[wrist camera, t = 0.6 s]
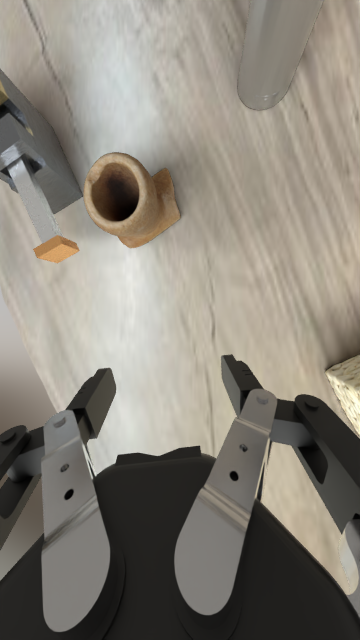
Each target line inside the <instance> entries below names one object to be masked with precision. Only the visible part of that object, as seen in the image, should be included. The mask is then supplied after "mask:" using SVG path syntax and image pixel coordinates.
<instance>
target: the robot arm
mask: <svg viewBox="0 0 360 640" xmlns="http://www.w3.org/2000/svg"><path fill="white" fill-rule="evenodd" d="M323 1H324V0H250V6H249V13H248V19H247V25H246V32H245V38H244V45H243V51H242V57H241V64H240V70H239V77H238V86H237V88H238V94H239V97H240V99H241V100H242V102H243V103H244V104H245V105H246V106H247V107H249V108H251V109H255V110H264V109H268V108H270V107H272V106H274V105H275V104H277V103H278V102H279V101H280V100H281V99H282V98H283V97H284V95H285V94H286V93H287V91H288V88H289V86H290V84H291V81H292V79H293V76H294V74H295V71H296V69H297V66H298V64H299V61H300V59H301V56H302V54H303V51H304V49H305V46H306V44H307V41H308V39H309V36H310V34H311V31H312V29H313V26H314V24H315V21H316V19H317V16H318V14H319V11H320V9H321V6H322V4H323ZM221 368H222V379H223V383H224V385H225V388H226V390H227V393H228V395H229V398H230V400H231V403H232V405H233V408H234V410H235V412H236V415H237V417H238V418H237V417H236V418H235V419H234V421H233V423H232V425H231V428H230V430H229V432H228V434H227V437H226V439H225V441H224V443H223V446H222V448H221V450H220V452H219V455H218V457H217V459H216V458H214V457H212V456H210V455H207V454H203V453H201V450H200V446H193V447H184V448H178V449H176V450H173V451H171V452H168V453H166V454H163V455H161V456H154V455H148V454H143V453H131V454H122V455H118V456H117V460H116V463H115V464H113V465H111V466H109V467H107V468H106V469H104V470H103V471H101V472H100V473H99V474H96V471H95V468H94V465H93V462H92V459H91V456H90V452H89V449H88V446H87V442H88V440H89V439H95V438H97V437H98V434H99V432H100V430H101V427H102V425H103V422H104V420H105V418H106V415H107V413H108V411H109V408H110V406H111V403H112V401H113V399H114V396H115V394H116V384H115V381H114V377H113V374H112V370H111V368H103V369H98V370H97V372H96V373H95V375H94V376H93V377H91V378H89V379H88V380H87V381H86V382H85V383H84V384H83V386H82V387H81V389H80V390H79V391H78V393H77V394H76V395H75V397H74V398H73V400H72V401H71V403H70V404H69V405H68V407H67V408H66V410H64V411H61V412H59V413H57V414H56V415H54V416H52V417H51V418H50V419H49V420H48V421H47V422H46V423H45V425H44V426H43V427H40V428H37V429H34V430H31V431H28V429H27V428H26V426H24V425H20V426H16V427H13V428H11V429H9V430H7V431H5V432H4V433H2V434H1V435H0V480H1V479H2V477H3V476H4V475H5V473H7V475H8V476H9V477H8V479H7V480H6V482H5V483H4V485H3V486H2V487H1V489H0V550H1V548H2V546H3V545H4V543H5V541H6V539H7V537H8V536H9V534H10V532H11V530H12V528H13V526H14V525H15V523H16V521H17V519H18V517H19V515H20V514H21V512H22V510H23V508H24V507H25V505H26V503H27V501H28V499H29V497H30V495H31V494H32V492H33V490H34V488H35V487H36V485H37V483H38V481H39V479H40V478H41V476H42V492H43V514H44V533H43V534H42V536H41V537H40V538H39V539H38V540H37V541H36V542H35V543H34V544H33V545H32V547H31V548H30V549H29V550H28V551H27V552H26V553H25V554H24V555H23V556H22V558H21V559H20V560H19V561H18V562H17V563H16V564H15V565H14V566H13V568H12V569H11V570H10V571H9V572H8V573H7V574H6V575H5V577H3V579H2V580H1V581H0V640H360V439H359V438H358V437H357V436H356V435H355V434H354V433H353V431H352V430H351V429H350V428H349V427H348V426H347V425H346V424H345V423H344V422H343V421H342V420H341V419H340V418H339V417H338V416H337V415H336V414H335V413H334V412H333V411H332V410H331V409H330V408H329V407H328V405H327V404H326V403H324V402H323V401H322V400H320V399H319V398H317V397H314V396H311V395H306V394H302V395H298V396H297V397H296V398H295V402H294V401H287V400H281V399H277V398H276V397H275V395H274V394H272V393H271V392H269V391H267V390H264V389H263V387H262V386H261V385H260V383H259V382H258V380H257V379H256V377H255V376H254V375H253V373H252V371H251V370H250V369H249V367H248V366H247V364H245V363H244V362H242V361H236V360H235V358H234V356H233V355H232V354H231V355H223V356H221ZM273 442H277V443H282V444H287V445H291V446H292V448H293V449H294V451H295V453H296V455H297V456H298V458H299V460H300V462H301V463H302V465H303V467H304V469H305V470H306V472H307V474H308V476H309V478H310V479H311V481H312V483H313V485H314V486H315V488H316V490H317V492H318V493H319V495H320V497H321V499H322V500H323V502H324V504H325V506H326V508H327V509H328V511H329V513H330V515H331V516H332V518H333V520H334V522H335V523H336V525H337V527H338V529H339V530H340V532H341V534H342V536H341V539H340V541H339V545H338V553H339V558H340V561H341V564H342V566H343V569H344V571H345V574H346V576H347V579H348V583H349V589H350V595H346V594H345V593H344V591H343V590H342V589H341V587H340V586H339V584H338V583H337V582H336V581H335V579H334V578H333V577H332V576H331V575H330V573H329V572H328V571H327V570H326V569H325V568H324V567H323V566H322V565H321V564H320V563H319V562H318V561H317V560H316V559H315V558H314V557H313V556H312V555H311V553H310V552H309V551H308V550H307V549H306V548H305V547H304V546H303V545H302V544H301V543H300V542H299V541H298V540H297V539H296V538H295V537H294V536H293V535H292V534H291V533H290V532H289V531H288V530H287V529H286V528H285V527H284V525H283V524H282V523H281V522H280V521H279V520H278V519H277V518H276V517H275V516H274V515H273V514H272V513H271V512H270V511H269V510H268V509H267V508H266V507H265V506H264V505H263V504H262V503H261V502H262V497H263V492H264V486H265V480H266V474H267V468H268V463H269V458H270V453H271V448H272V443H273Z"/></svg>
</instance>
